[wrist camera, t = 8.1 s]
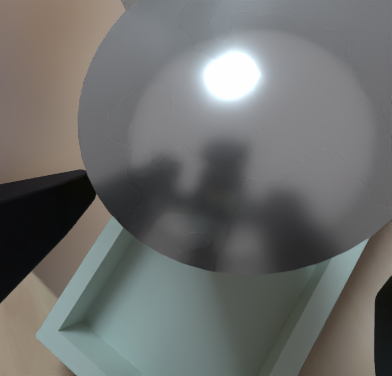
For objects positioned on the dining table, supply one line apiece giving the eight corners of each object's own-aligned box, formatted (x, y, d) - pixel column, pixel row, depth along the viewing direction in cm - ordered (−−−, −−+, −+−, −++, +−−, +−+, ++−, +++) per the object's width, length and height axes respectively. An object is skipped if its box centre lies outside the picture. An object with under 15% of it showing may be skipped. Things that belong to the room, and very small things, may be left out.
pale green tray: (229, 463, 14) (224, 515, 11) (69, 322, 18) (34, 336, 15) (382, 174, 16) (411, 157, 13) (211, 97, 20) (204, 71, 17)
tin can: (307, 264, 15) (488, 295, 4) (189, 257, 16) (49, 264, 5) (302, 150, 17) (419, -80, 5) (195, 153, 18) (98, -27, 6)
